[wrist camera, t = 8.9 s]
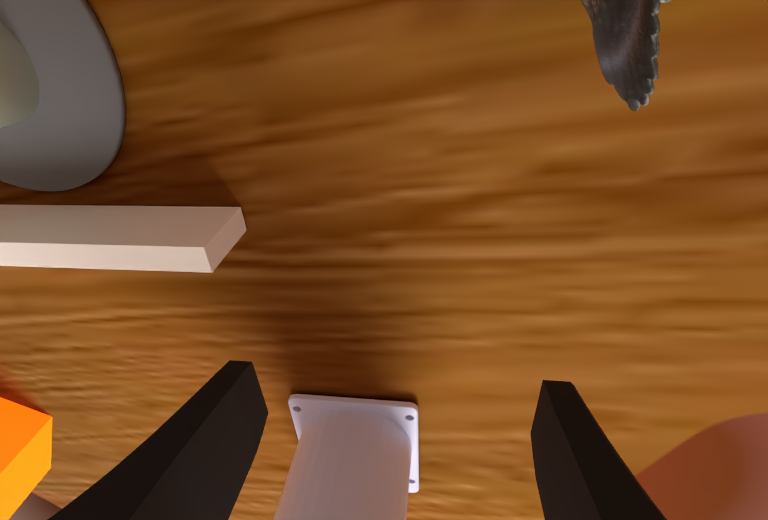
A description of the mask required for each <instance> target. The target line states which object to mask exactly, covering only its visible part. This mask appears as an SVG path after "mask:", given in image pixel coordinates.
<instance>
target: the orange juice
mask: <svg viewBox="0 0 768 520" xmlns="http://www.w3.org/2000/svg"><path fill="white" fill-rule="evenodd" d="M51 441H52V416H49V415H46V414H44V413H41V412H38V411H36V410H33V409H30V408H28V407H25V406H22V405H20V404H17V403H14V402H12V401H9V400H6V399H4V398H1V397H0V520H8V519H9V518H10V517H11V516H12V514H13V513H14V512H15V511H16V509H17V508H18V507H19V506H20V505H21V503H22V502H23V501H24V500H25V498H26V497H27V496H28V495H29V493H30V492H31V491H32V490H33V489H34V487H35V486H36V485H37V484H38V483H39V481H40V480H41V479H42V478H43V476H44V475H45V474H46V473H47V472H48V470H49V469H50V468H51Z"/></svg>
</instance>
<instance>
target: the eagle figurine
mask: <svg viewBox="0 0 768 520" xmlns="http://www.w3.org/2000/svg"><path fill="white" fill-rule="evenodd" d="M581 1H582V3H583V5H584V7H585V8H586V10H587V12H588V15H589V17H590V19H591V21H592V25H593V39H594V44H595V50H596V53H597V57H598V60H599V64H600V67H601V70H602V73H603V75H604V77H605V79H606V81H607V82H608V83H609V84H611V85H614V86H615V89H616V91H617V93H618V94H619V96H620V97H621V98H622V99H623V100H624V101H625V102H627V104H628V105H629V108H630V109H631V110H632V111H637V110H638V109H639V107H640V104H642V105H644V106H645V105H647V104H648V102H649V95H650V94H653V92H654V84H653V81H652V80H656V79H658V62H657V58H656V57H657V56H658V55H659V52H660V51H659V42H658V34H659V31H660V22H659V19H658V11H659V8H660V2H661V3H666V2H669V1H671V0H581Z"/></svg>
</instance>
